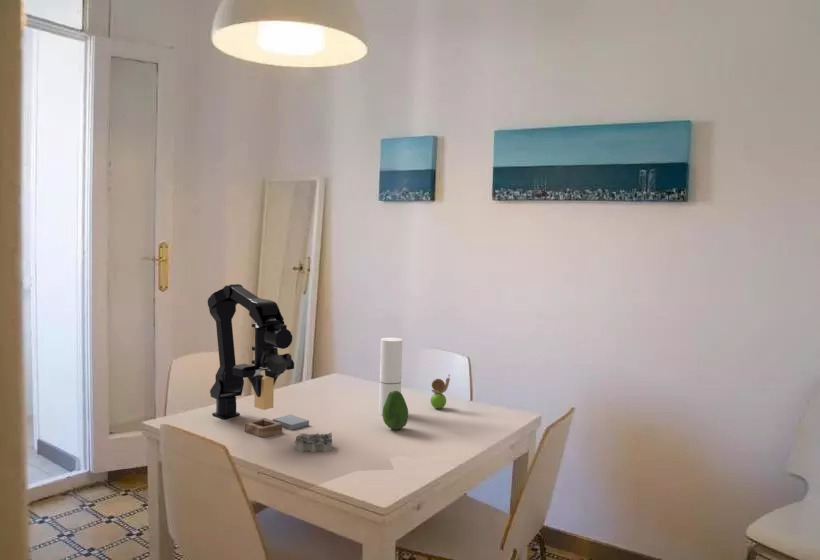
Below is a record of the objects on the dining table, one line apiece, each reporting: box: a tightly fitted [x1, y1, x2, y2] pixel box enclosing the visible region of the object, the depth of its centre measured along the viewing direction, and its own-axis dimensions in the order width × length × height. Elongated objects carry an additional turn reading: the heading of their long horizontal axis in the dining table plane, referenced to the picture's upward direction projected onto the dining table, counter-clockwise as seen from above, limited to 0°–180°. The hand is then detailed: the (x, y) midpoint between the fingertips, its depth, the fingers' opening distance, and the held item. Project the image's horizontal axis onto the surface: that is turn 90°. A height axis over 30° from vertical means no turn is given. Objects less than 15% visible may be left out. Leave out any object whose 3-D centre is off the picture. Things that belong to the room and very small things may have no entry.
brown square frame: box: [243, 417, 283, 438], centre depth 200 cm, size 8×8×2 cm
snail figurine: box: [430, 374, 451, 410], centre depth 231 cm, size 5×6×12 cm
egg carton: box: [294, 432, 333, 453], centre depth 187 cm, size 10×7×4 cm
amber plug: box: [253, 375, 275, 411], centre depth 199 cm, size 4×4×9 cm
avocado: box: [381, 391, 409, 431], centre depth 206 cm, size 8×8×12 cm
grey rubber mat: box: [272, 414, 310, 431], centre depth 208 cm, size 9×7×2 cm
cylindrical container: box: [378, 337, 403, 416], centre depth 223 cm, size 7×7×25 cm
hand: (263, 395), depth 199 cm, fingers closed on amber plug, 3 cm apart
